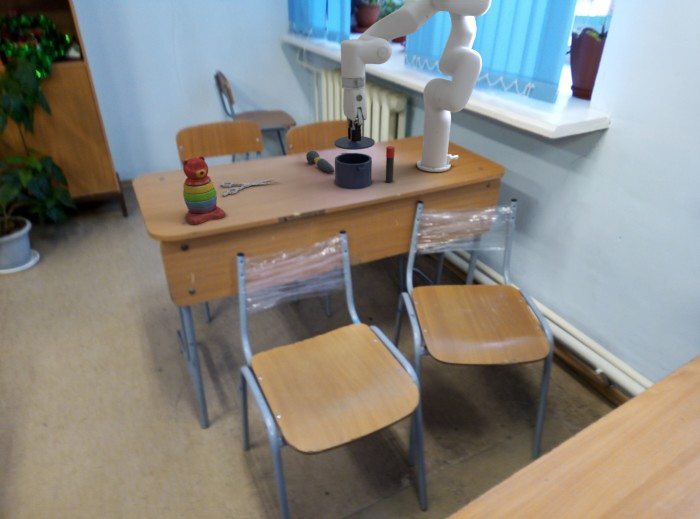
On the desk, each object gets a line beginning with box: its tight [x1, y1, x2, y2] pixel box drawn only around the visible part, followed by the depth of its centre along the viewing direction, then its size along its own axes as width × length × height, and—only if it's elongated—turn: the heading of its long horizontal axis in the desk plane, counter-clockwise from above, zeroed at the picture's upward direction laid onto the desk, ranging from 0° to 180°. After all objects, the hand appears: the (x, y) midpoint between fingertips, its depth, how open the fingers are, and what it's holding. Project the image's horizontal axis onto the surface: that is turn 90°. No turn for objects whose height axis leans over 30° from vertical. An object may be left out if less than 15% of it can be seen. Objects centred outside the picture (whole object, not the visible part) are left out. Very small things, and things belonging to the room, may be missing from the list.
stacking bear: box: [182, 155, 226, 225], centre depth 140 cm, size 11×10×18 cm
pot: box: [334, 152, 373, 190], centre depth 166 cm, size 13×18×8 cm
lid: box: [333, 126, 376, 151], centre depth 160 cm, size 14×14×6 cm
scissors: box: [221, 178, 277, 197], centre depth 165 cm, size 11×1×20 cm
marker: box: [385, 145, 396, 184], centre depth 165 cm, size 3×3×12 cm
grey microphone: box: [305, 150, 335, 174], centre depth 180 cm, size 20×5×5 cm, turn 38°
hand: (354, 139), depth 161 cm, fingers closed on lid, 2 cm apart
